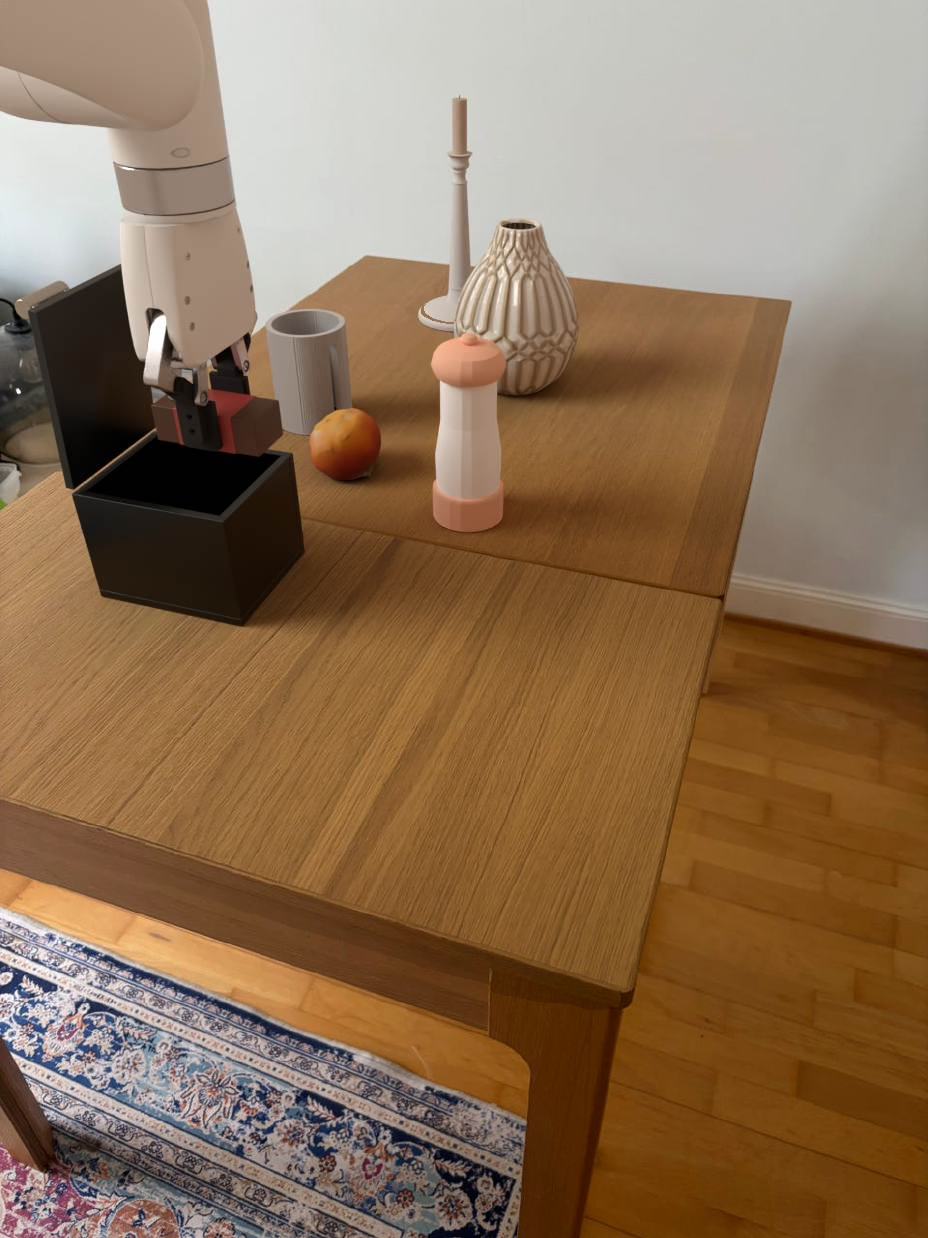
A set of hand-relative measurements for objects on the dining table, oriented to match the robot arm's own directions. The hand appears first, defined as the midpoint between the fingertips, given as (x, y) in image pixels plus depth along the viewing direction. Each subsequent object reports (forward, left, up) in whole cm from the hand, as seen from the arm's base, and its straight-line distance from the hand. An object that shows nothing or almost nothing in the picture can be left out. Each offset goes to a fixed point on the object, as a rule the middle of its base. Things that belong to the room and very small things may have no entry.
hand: (219, 431), depth 75 cm
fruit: (+18, +19, -18) cm, 32 cm away
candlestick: (+53, +55, -18) cm, 79 cm away
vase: (+47, +30, -18) cm, 59 cm away
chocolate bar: (0, 0, -1) cm, 1 cm away
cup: (+20, +33, -18) cm, 43 cm away
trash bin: (-2, +7, -17) cm, 19 cm away
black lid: (-6, +12, +2) cm, 14 cm away
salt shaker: (+25, +4, -18) cm, 31 cm away
